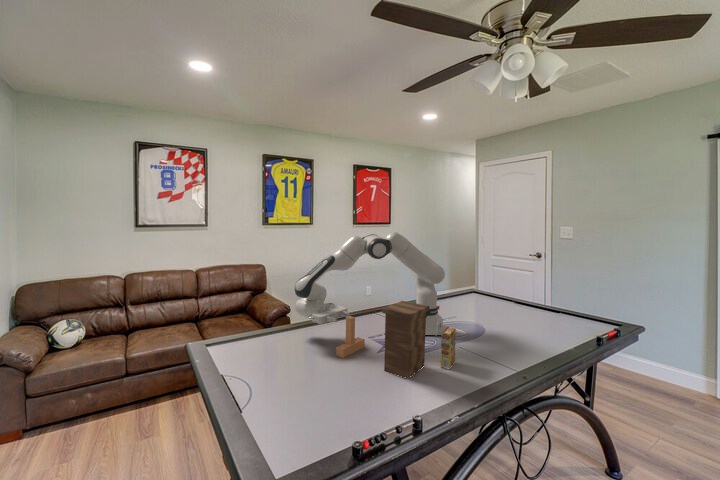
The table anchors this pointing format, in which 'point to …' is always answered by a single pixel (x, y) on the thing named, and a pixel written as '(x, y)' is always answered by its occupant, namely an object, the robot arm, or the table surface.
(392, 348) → the stand
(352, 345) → the t bar
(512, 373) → the table surface
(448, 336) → the candy box
